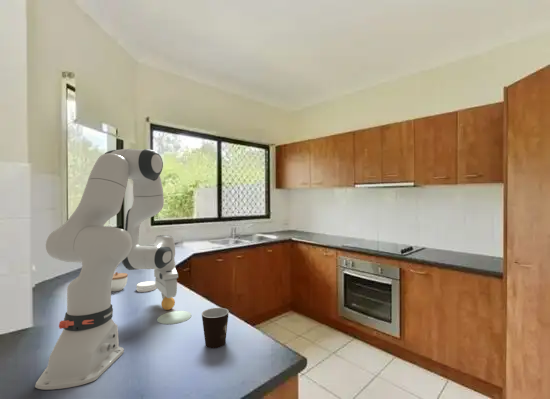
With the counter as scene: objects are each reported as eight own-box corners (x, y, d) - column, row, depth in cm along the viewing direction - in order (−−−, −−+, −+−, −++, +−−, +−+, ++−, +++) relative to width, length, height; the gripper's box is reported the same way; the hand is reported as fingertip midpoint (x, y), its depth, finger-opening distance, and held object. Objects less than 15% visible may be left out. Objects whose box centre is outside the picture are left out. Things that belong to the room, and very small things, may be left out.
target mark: (189, 322, 109) (189, 321, 109) (154, 325, 106) (154, 325, 106) (192, 310, 121) (192, 309, 121) (160, 312, 119) (160, 312, 119)
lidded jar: (120, 292, 147) (120, 274, 147) (100, 292, 147) (100, 274, 148) (131, 286, 158) (131, 270, 158) (112, 286, 158) (112, 270, 158)
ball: (169, 311, 124) (172, 312, 120) (157, 306, 122) (160, 307, 118) (175, 299, 127) (178, 299, 123) (163, 294, 125) (167, 294, 121)
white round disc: (149, 286, 160) (149, 279, 160) (160, 288, 155) (160, 282, 155) (132, 290, 151) (132, 284, 151) (144, 293, 146) (144, 286, 146)
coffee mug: (215, 353, 86) (215, 319, 86) (196, 345, 90) (196, 314, 91) (240, 337, 96) (239, 307, 96) (221, 331, 100) (221, 303, 100)
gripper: (151, 268, 132) (152, 297, 132) (164, 277, 116) (164, 311, 116) (165, 266, 136) (165, 294, 136) (179, 274, 120) (179, 307, 120)
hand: (165, 302), depth 126 cm, fingers closed
